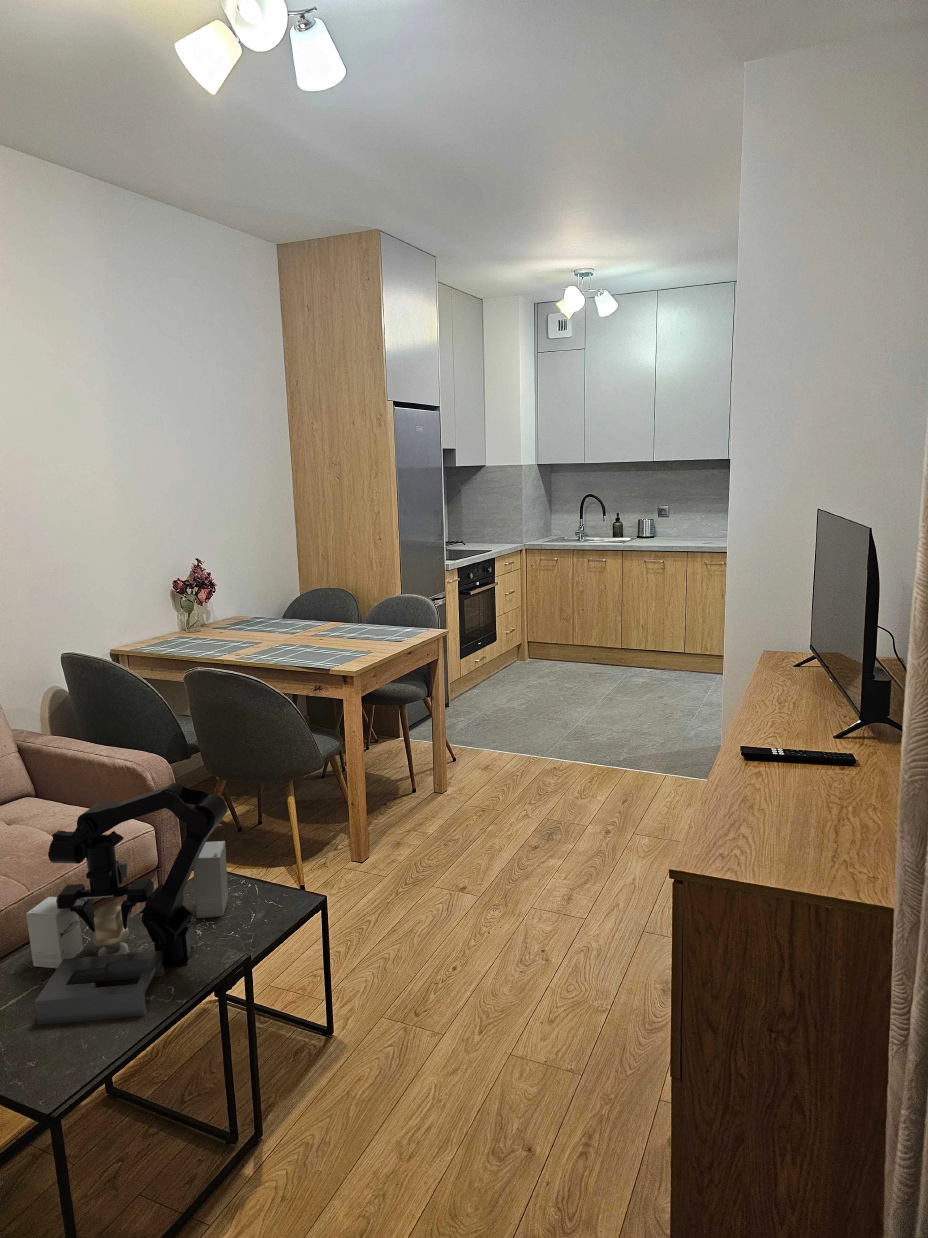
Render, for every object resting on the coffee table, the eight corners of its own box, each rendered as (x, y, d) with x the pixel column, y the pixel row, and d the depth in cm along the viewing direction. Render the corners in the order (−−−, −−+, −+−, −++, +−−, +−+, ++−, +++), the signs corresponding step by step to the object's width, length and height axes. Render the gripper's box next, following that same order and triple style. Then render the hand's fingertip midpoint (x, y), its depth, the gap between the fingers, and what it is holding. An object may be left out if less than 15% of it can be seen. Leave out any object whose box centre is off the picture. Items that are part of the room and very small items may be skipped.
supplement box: (62, 969, 177) (55, 915, 174) (32, 967, 178) (24, 913, 176) (84, 950, 184) (77, 897, 181) (55, 947, 185) (48, 895, 183)
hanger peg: (135, 946, 184) (129, 902, 183) (125, 964, 178) (119, 919, 176) (102, 948, 184) (97, 905, 182) (91, 967, 177) (85, 922, 175)
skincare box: (202, 902, 203) (196, 841, 200) (232, 899, 203) (226, 838, 201) (195, 920, 194) (188, 857, 192) (226, 917, 195) (220, 854, 192)
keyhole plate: (164, 972, 174) (161, 951, 173) (144, 1015, 160) (141, 992, 159) (66, 981, 172) (63, 959, 172) (38, 1025, 159) (34, 1001, 158)
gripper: (157, 843, 186) (164, 907, 188) (71, 849, 184) (80, 914, 187) (142, 866, 175) (150, 934, 177) (50, 873, 173) (60, 941, 176)
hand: (110, 929), depth 180 cm, fingers open, 6 cm apart
